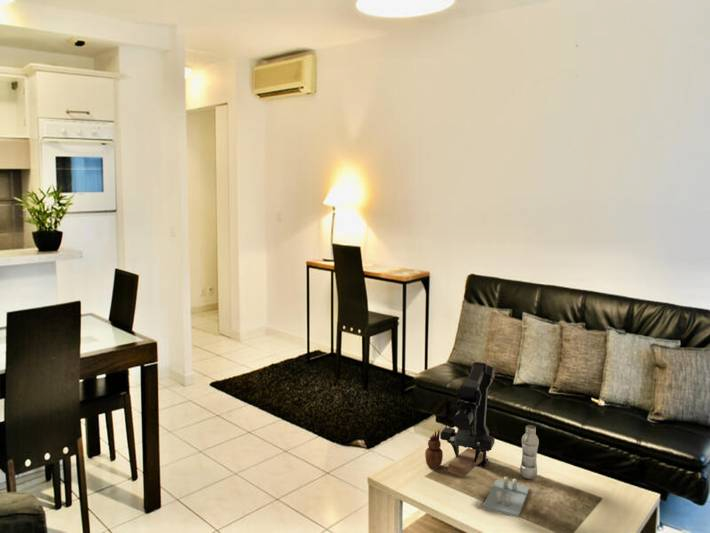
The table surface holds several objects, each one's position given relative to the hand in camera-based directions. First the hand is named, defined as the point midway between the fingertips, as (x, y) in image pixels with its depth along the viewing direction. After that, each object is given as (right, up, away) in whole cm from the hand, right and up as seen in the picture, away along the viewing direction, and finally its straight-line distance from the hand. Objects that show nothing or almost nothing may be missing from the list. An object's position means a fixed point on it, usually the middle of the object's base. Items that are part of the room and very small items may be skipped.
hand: (466, 460), depth 208 cm
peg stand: (+13, -12, -5) cm, 19 cm away
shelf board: (0, -2, 0) cm, 2 cm away
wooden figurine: (-9, -9, +18) cm, 23 cm away
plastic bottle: (+26, -10, +11) cm, 30 cm away
